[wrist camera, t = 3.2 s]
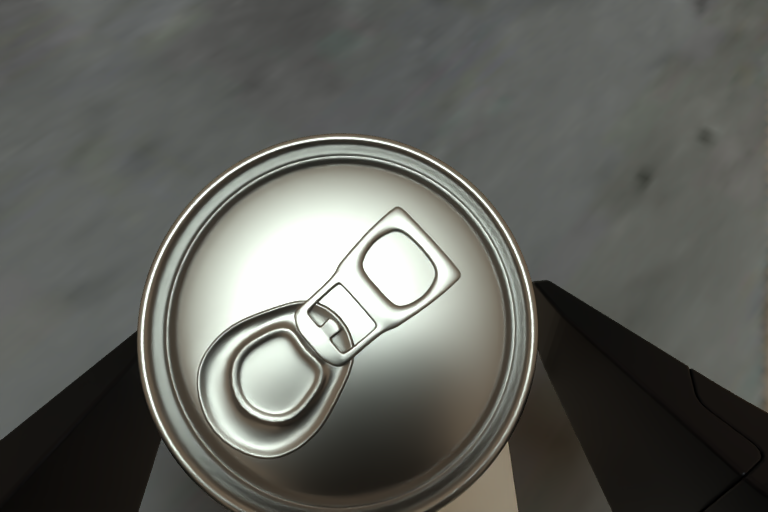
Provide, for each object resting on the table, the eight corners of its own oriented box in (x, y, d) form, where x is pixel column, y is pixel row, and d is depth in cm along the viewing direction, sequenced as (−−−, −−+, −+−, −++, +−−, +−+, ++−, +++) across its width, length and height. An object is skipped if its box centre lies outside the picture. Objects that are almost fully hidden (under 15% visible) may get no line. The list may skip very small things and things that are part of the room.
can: (263, 309, 17) (5, 301, 5) (370, 217, 18) (362, 26, 6) (356, 420, 16) (311, 706, 4) (463, 321, 17) (664, 339, 5)
